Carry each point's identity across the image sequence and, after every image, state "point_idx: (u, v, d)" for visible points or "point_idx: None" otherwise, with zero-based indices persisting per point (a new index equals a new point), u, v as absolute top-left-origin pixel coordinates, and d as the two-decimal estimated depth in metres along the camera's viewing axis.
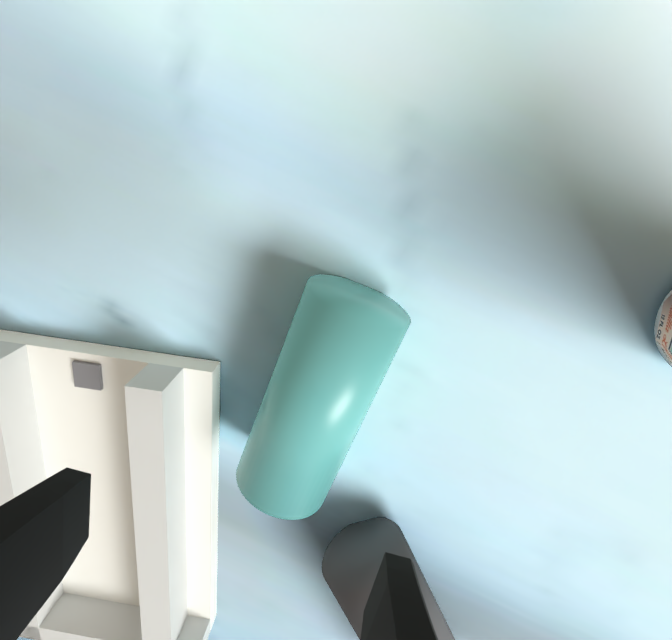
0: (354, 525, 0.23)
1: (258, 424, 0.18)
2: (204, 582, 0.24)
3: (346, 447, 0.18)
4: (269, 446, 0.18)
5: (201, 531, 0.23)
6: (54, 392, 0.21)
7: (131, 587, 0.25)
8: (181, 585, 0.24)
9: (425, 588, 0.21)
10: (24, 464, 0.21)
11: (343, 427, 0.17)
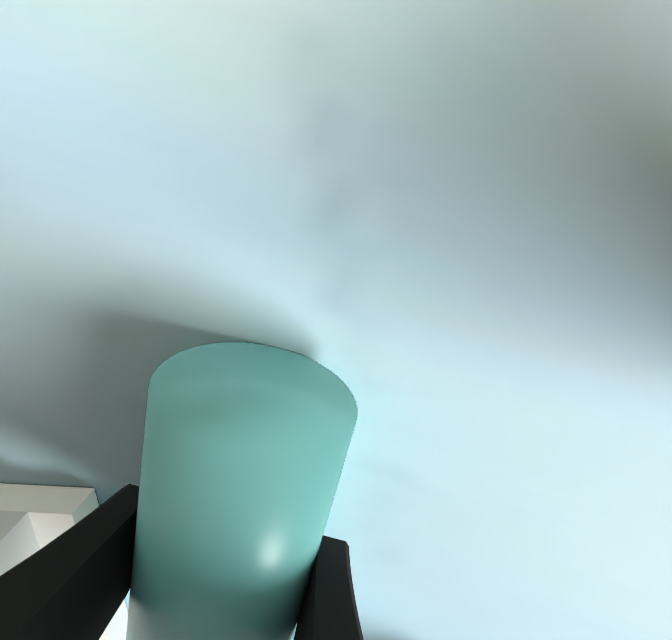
0: None
1: (128, 612, 0.11)
2: None
3: None
4: None
5: None
6: None
7: None
8: None
9: None
10: None
11: (257, 629, 0.09)
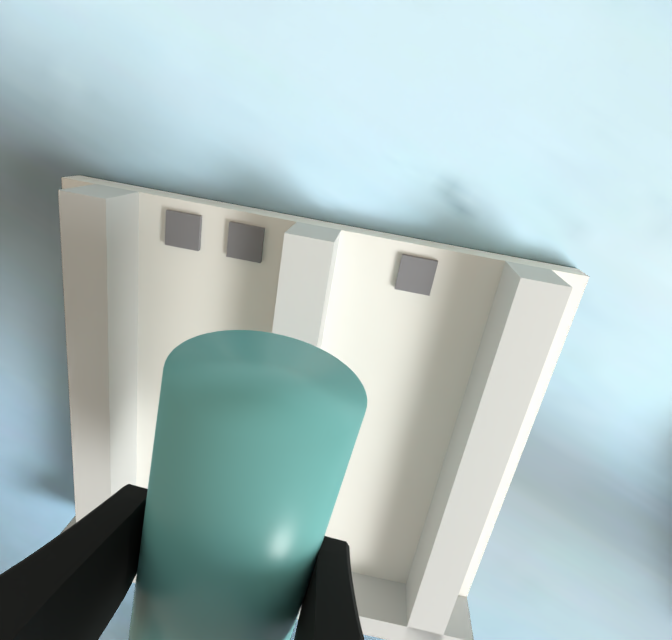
0: None
1: (134, 592, 0.11)
2: (476, 551, 0.20)
3: (281, 631, 0.10)
4: (144, 639, 0.10)
5: None
6: (358, 297, 0.17)
7: (377, 554, 0.21)
8: None
9: None
10: None
11: (261, 612, 0.09)
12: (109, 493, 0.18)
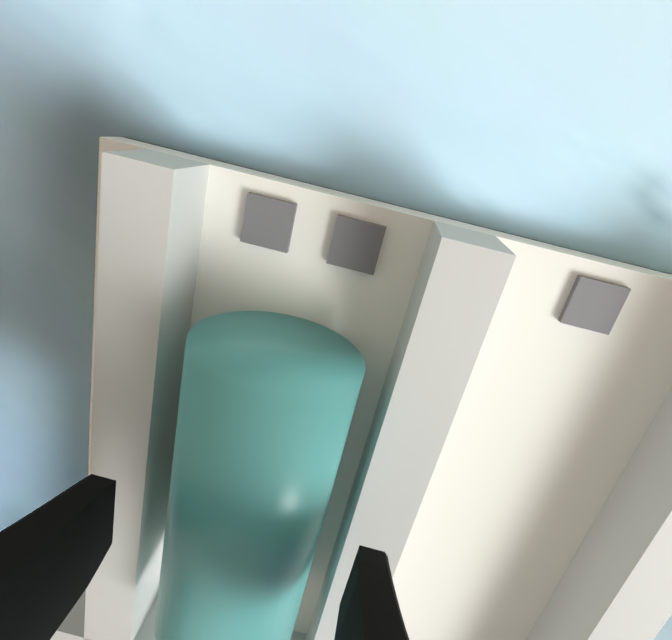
0: None
1: (163, 549, 0.12)
2: None
3: (296, 577, 0.12)
4: (174, 588, 0.11)
5: None
6: (504, 330, 0.12)
7: None
8: None
9: None
10: None
11: (279, 556, 0.11)
12: (135, 569, 0.14)
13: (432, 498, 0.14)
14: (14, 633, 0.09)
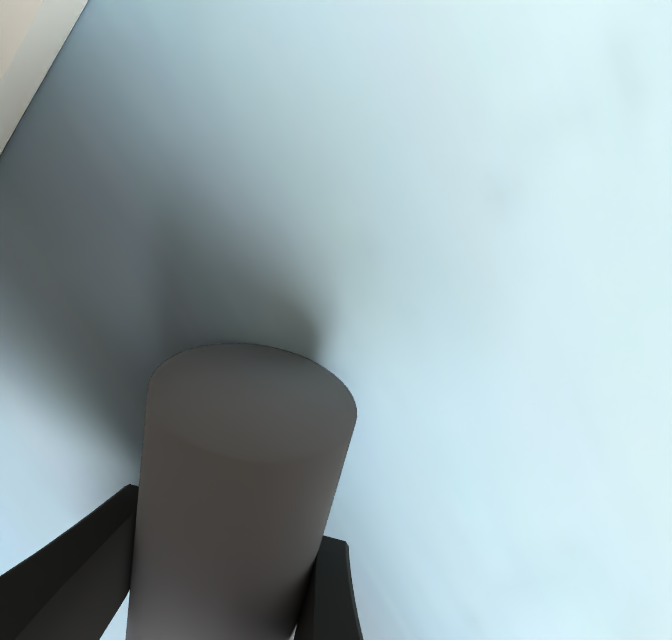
0: (258, 349, 0.11)
1: None
2: None
3: None
4: None
5: None
6: None
7: None
8: None
9: None
10: None
11: None
12: None
13: None
14: None
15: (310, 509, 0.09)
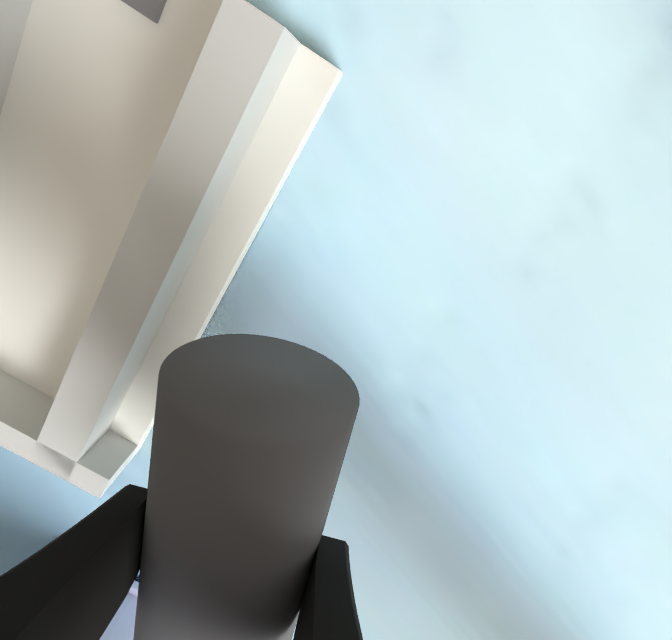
0: (274, 341, 0.11)
1: None
2: (156, 391, 0.17)
3: None
4: None
5: (191, 315, 0.16)
6: None
7: (46, 363, 0.17)
8: (128, 379, 0.16)
9: (323, 522, 0.10)
10: None
11: None
12: None
13: (13, 176, 0.15)
14: None
15: (303, 496, 0.09)
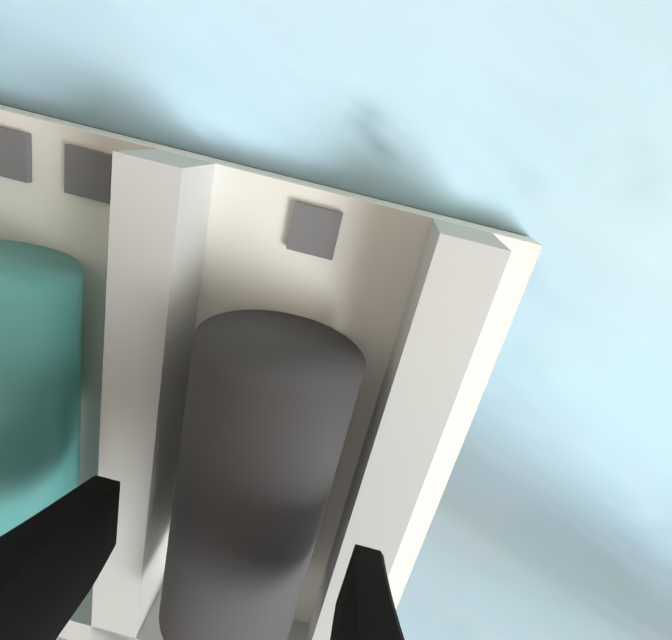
0: (288, 316, 0.13)
1: None
2: (393, 590, 0.16)
3: (18, 494, 0.12)
4: None
5: (418, 514, 0.15)
6: (241, 258, 0.12)
7: None
8: None
9: (334, 471, 0.12)
10: (175, 374, 0.13)
11: None
12: None
13: None
14: (20, 634, 0.09)
15: (319, 442, 0.10)
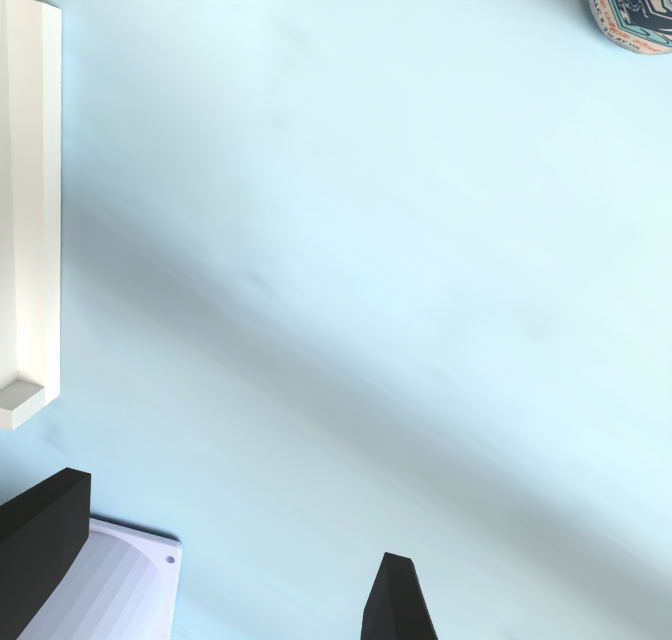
0: None
1: None
2: (37, 332, 0.20)
3: None
4: None
5: (32, 255, 0.19)
6: None
7: None
8: (4, 324, 0.19)
9: None
10: None
11: None
12: None
13: None
14: None
15: None
